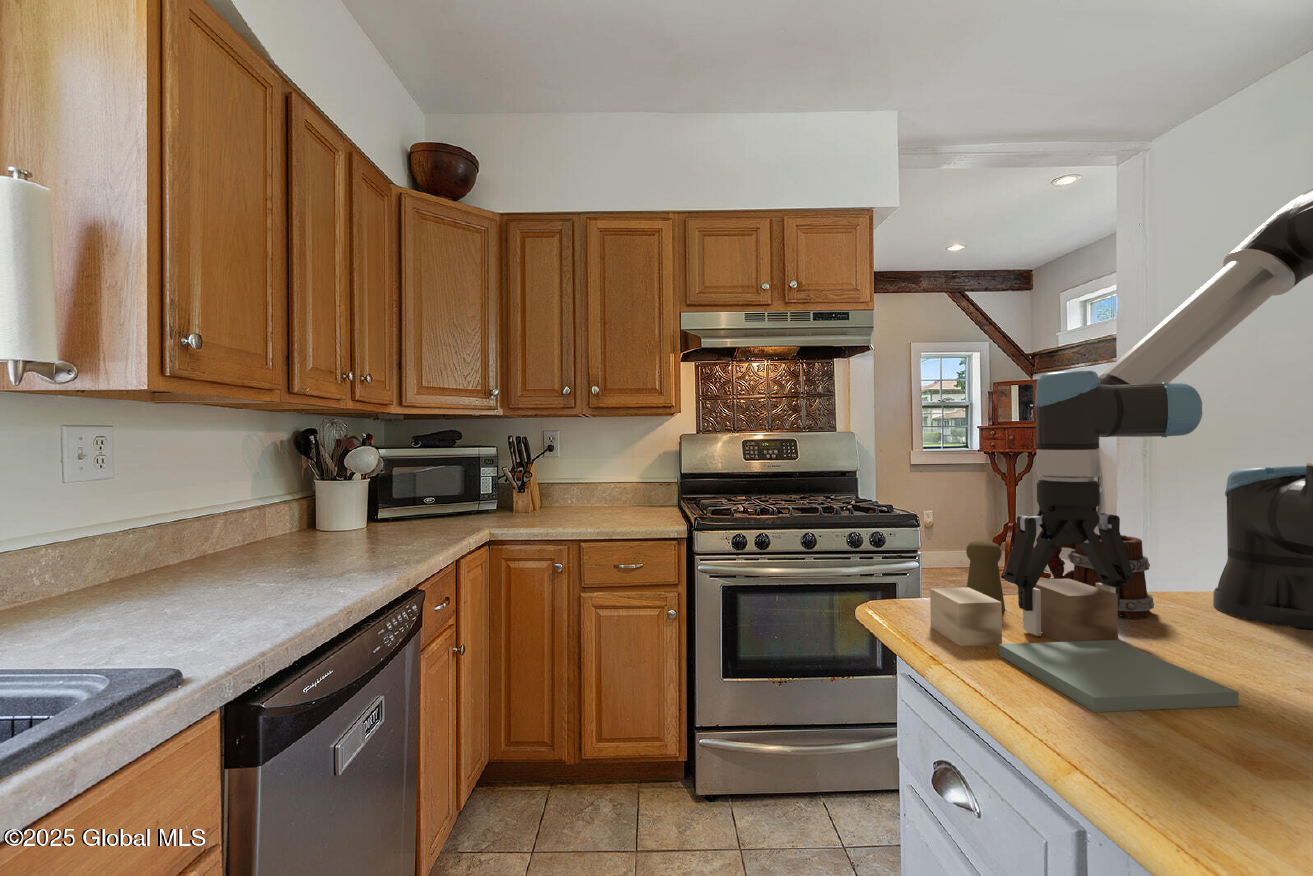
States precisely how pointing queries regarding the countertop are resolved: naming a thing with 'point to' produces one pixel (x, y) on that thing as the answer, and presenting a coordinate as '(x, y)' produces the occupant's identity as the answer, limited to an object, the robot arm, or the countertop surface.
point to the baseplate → (1116, 676)
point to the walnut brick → (1077, 611)
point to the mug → (1131, 597)
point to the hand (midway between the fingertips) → (1069, 631)
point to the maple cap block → (966, 616)
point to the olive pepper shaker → (985, 569)
